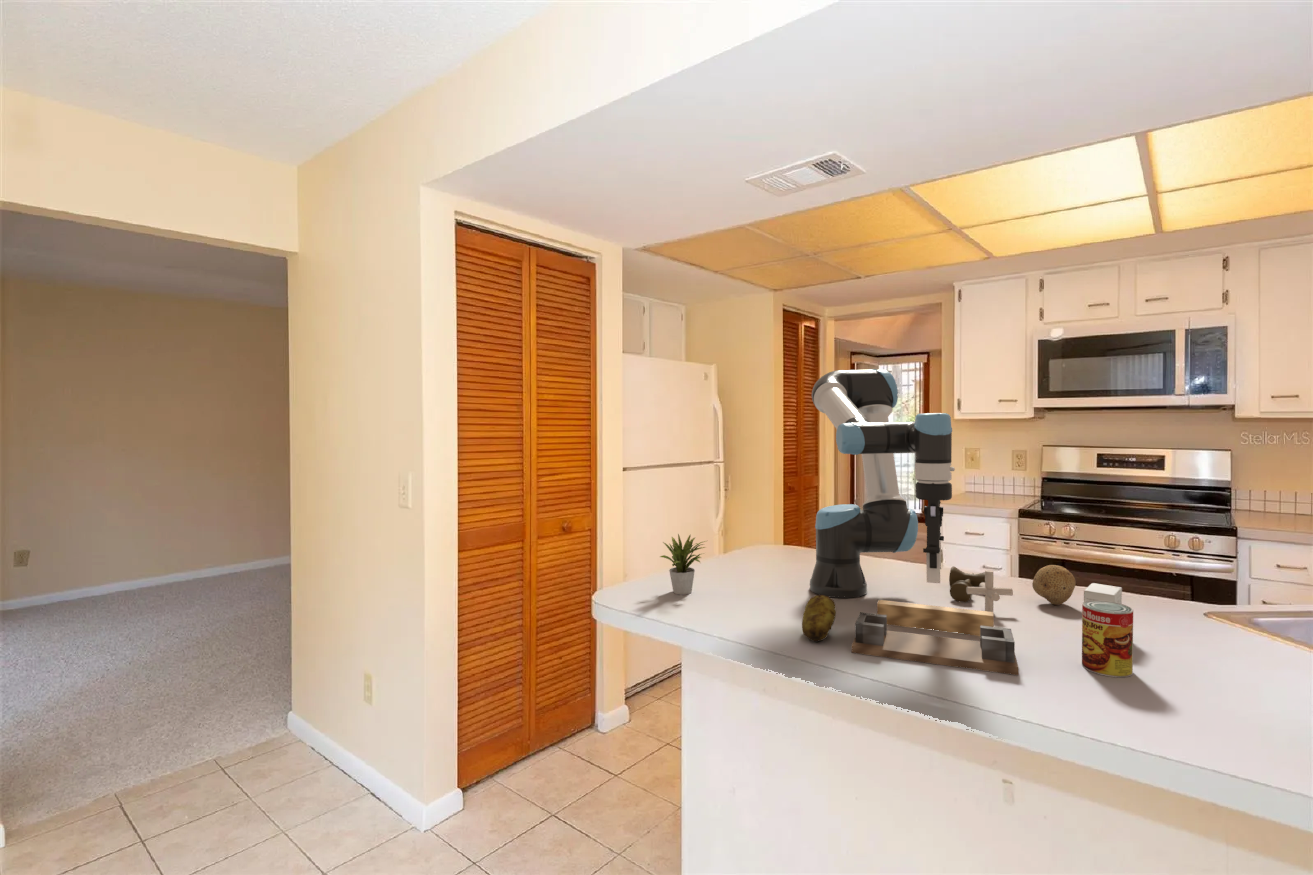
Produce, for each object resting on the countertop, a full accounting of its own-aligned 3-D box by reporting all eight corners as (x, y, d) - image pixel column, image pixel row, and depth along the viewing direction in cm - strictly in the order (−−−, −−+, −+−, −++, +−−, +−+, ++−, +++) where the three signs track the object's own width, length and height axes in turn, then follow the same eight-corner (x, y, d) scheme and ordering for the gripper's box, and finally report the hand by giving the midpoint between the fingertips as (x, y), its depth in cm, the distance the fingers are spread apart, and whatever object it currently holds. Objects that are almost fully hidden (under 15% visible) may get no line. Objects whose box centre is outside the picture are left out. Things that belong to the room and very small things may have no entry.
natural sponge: (1042, 609, 156) (1042, 569, 156) (1025, 599, 165) (1026, 560, 165) (1082, 610, 155) (1082, 569, 155) (1063, 599, 164) (1063, 561, 164)
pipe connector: (1018, 619, 150) (1018, 577, 149) (972, 617, 152) (972, 575, 151) (1004, 606, 160) (1004, 566, 159) (961, 604, 162) (961, 565, 161)
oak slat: (877, 624, 149) (877, 603, 149) (879, 620, 152) (878, 599, 152) (993, 638, 138) (993, 616, 138) (993, 634, 141) (993, 612, 141)
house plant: (702, 602, 168) (701, 540, 167) (651, 599, 172) (650, 538, 171) (713, 587, 181) (712, 530, 181) (666, 585, 185) (665, 529, 185)
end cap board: (851, 652, 131) (851, 626, 131) (859, 633, 142) (859, 609, 142) (1018, 675, 119) (1018, 646, 119) (1012, 652, 130) (1013, 626, 130)
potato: (787, 639, 140) (787, 603, 140) (813, 623, 150) (813, 589, 150) (823, 647, 135) (822, 610, 134) (847, 630, 145) (847, 595, 144)
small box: (1091, 628, 143) (1091, 582, 142) (1121, 634, 139) (1122, 586, 138) (1082, 638, 137) (1082, 589, 137) (1114, 644, 133) (1114, 594, 133)
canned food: (1072, 660, 125) (1073, 600, 125) (1113, 660, 125) (1114, 600, 124) (1099, 677, 117) (1099, 613, 117) (1143, 677, 117) (1143, 612, 117)
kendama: (939, 601, 167) (954, 581, 183) (980, 608, 161) (992, 587, 178) (940, 578, 166) (955, 561, 183) (981, 585, 161) (992, 566, 177)
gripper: (951, 487, 131) (952, 590, 131) (951, 477, 153) (952, 564, 154) (912, 486, 134) (913, 587, 135) (918, 476, 157) (918, 562, 157)
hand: (934, 575), depth 144 cm, fingers open, 13 cm apart
